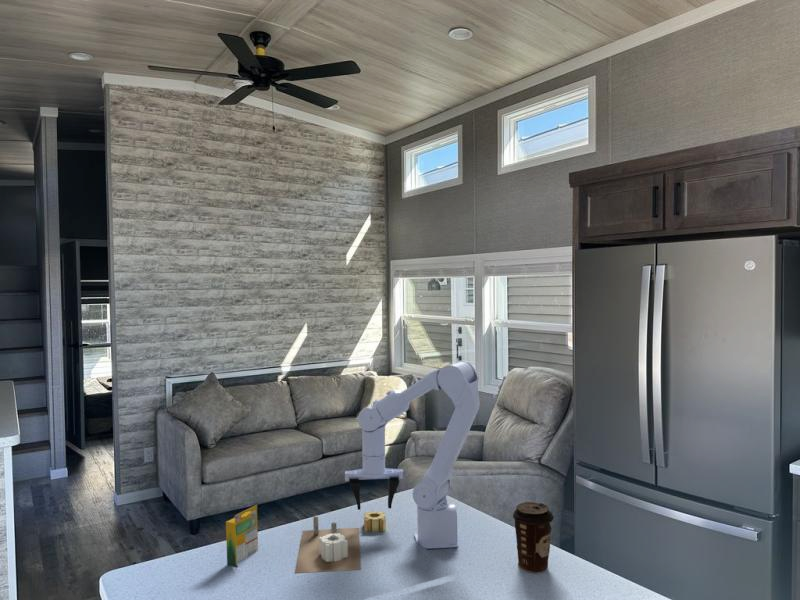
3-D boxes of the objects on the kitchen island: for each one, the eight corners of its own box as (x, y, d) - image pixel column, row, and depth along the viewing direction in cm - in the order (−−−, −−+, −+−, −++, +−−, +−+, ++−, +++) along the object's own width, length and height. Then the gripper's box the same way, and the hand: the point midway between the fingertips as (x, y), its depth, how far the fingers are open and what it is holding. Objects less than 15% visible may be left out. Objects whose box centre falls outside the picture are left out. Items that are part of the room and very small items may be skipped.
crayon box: (249, 551, 137) (248, 502, 137) (258, 554, 136) (258, 504, 135) (226, 564, 131) (225, 513, 130) (236, 567, 129) (235, 515, 129)
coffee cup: (555, 561, 130) (555, 502, 130) (552, 578, 122) (552, 516, 122) (516, 555, 133) (515, 498, 133) (510, 572, 125) (510, 512, 125)
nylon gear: (340, 548, 136) (339, 531, 135) (348, 558, 131) (348, 540, 131) (318, 553, 133) (317, 536, 133) (326, 563, 128) (326, 545, 128)
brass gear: (384, 526, 151) (384, 510, 150) (386, 534, 145) (385, 518, 145) (364, 527, 150) (363, 511, 150) (364, 536, 145) (364, 519, 145)
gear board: (359, 531, 147) (358, 510, 147) (360, 574, 125) (360, 548, 125) (302, 534, 146) (302, 512, 146) (294, 577, 124) (294, 552, 124)
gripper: (401, 448, 152) (401, 500, 152) (344, 450, 151) (345, 502, 151) (403, 456, 145) (404, 510, 145) (344, 458, 144) (345, 513, 144)
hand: (374, 507), depth 148 cm, fingers open, 7 cm apart
